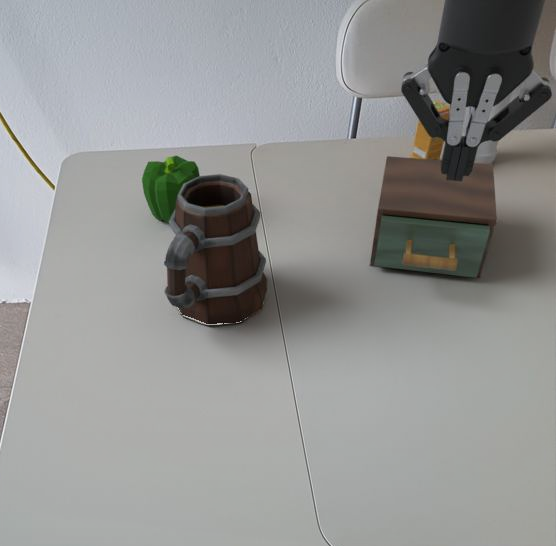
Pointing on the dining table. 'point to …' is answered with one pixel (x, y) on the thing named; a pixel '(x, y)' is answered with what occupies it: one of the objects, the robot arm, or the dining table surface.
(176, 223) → the mug
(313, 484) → the dining table surface
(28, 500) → the dining table surface
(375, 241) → the cabinet
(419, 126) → the supplement box
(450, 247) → the drawer
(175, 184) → the bell pepper
